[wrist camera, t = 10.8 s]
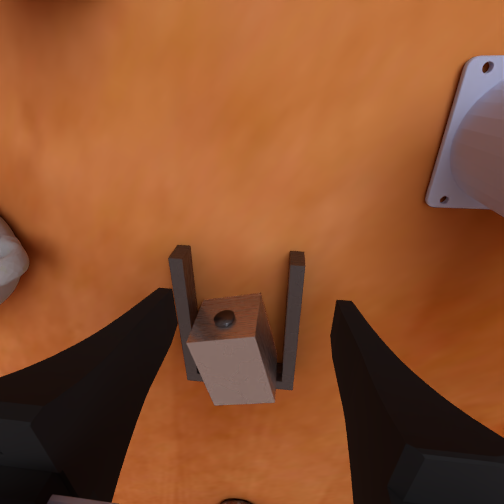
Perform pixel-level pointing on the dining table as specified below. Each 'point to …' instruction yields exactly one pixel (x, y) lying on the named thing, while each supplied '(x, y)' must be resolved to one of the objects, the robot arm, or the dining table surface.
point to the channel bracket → (188, 311)
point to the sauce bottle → (234, 502)
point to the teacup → (10, 261)
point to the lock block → (235, 350)
